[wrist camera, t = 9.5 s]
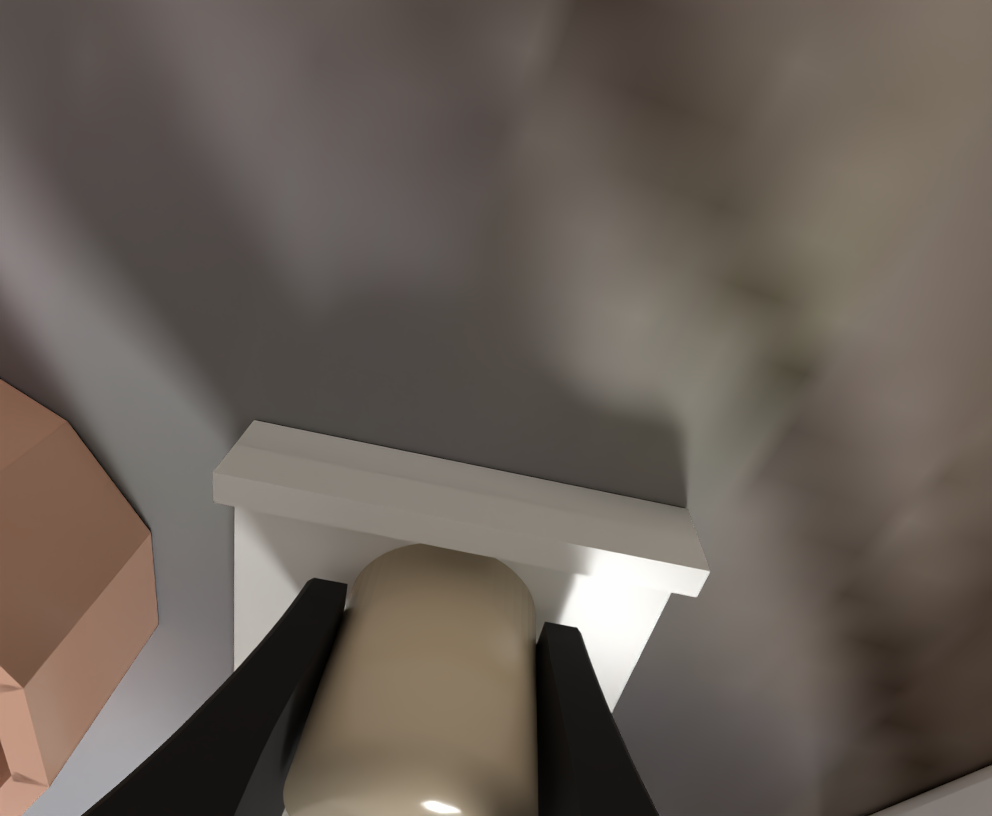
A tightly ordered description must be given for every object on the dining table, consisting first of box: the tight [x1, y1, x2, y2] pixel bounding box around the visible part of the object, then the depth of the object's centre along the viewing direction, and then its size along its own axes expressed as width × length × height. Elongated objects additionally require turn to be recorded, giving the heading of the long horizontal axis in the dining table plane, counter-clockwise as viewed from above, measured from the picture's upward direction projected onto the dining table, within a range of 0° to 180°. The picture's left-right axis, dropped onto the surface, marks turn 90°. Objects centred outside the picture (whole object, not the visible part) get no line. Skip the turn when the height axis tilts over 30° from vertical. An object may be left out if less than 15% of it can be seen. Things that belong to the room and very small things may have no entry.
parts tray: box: [213, 420, 710, 816], centre depth 13 cm, size 12×8×2 cm, turn 169°
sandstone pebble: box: [283, 543, 538, 816], centre depth 10 cm, size 4×4×4 cm
